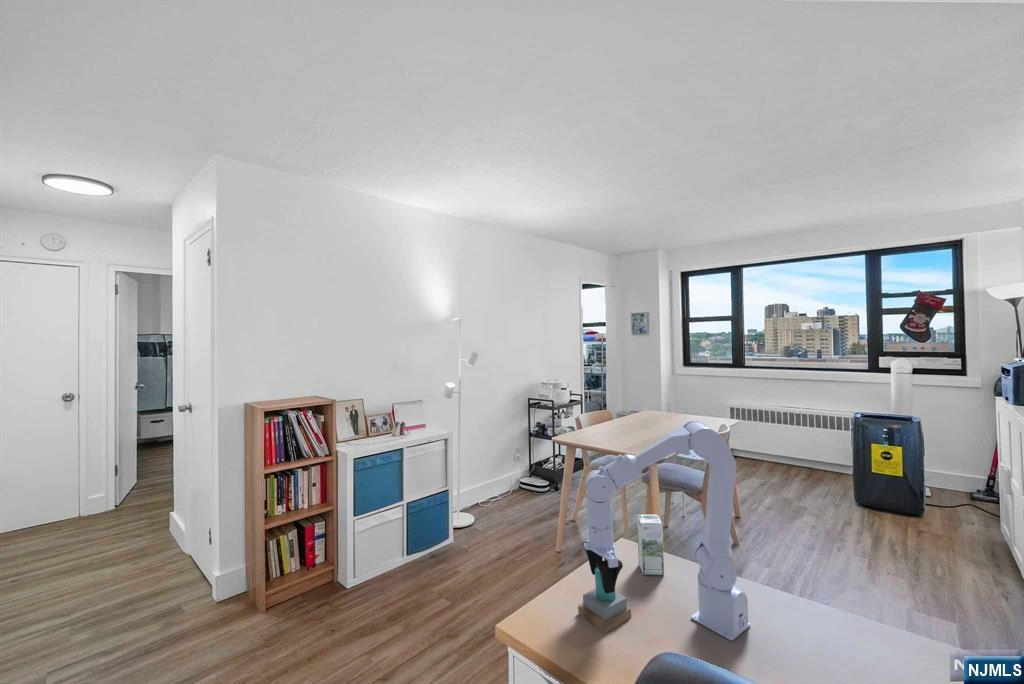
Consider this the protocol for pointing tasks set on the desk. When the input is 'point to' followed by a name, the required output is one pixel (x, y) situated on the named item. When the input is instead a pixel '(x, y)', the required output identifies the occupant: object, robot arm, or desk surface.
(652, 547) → the syrup box
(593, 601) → the grey slab
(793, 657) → the desk surface
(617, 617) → the walnut slab
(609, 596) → the teal capsule
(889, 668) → the desk surface
